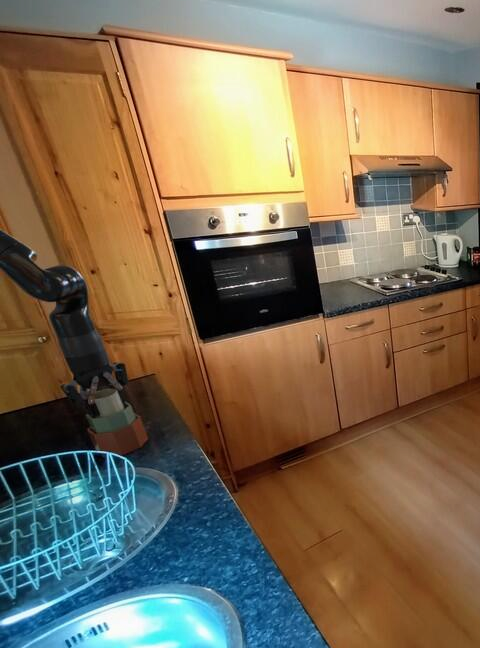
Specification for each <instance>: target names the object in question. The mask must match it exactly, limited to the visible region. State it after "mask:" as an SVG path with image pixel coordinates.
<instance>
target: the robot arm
mask: <svg viewBox="0 0 480 648" xmlns="http://www.w3.org/2000/svg"><path fill="white" fill-rule="evenodd" d="M37 259H38V254H37V253H36V251H35V250H34V249H33V248H31V247H30V246H28V245H27V244H25V243H24V242H22V241H21V240H19V239H17V238H16V237H14V236H13V235H11V234H9V233H8V232H6V231H4V230H3V229H2V228H0V270H1V271H2V272H3V273H4V274H5V275H6V276H7V277H8V278H9V280H11V281H12V282H13V283H15V284H16V285H17V287H18V288H20V290H22V291H23V292H24V293H25V294H27V295H28V296H30V297H32V298H33V299H36V300H38V301H40V302H44V303H55V306H54V309H53V310H52V311H51V312H50V313H49V315H48V319H49V322H50V325H51V327H52V330H53V332H54V334H55V337H56V339H57V343H58V346H59V349H60V351H61V354H62V355H63V358H64V360H65V362H66V365H67V367H68V369H69V371H70V373H71V374H72V376H73V377H72V380H71V381H70V382H68V383H65V384H64V383H62V384H61V385H60V389H61V391H62V392H63V393H64V395H65V397H67V399H68V401H69V402H70V403H71V405H74V406H80V407H84V409H85V411H86V414H89V415H91V416H95V417H97V416H99V415H100V412H99V410H98V408H97V405H96V403H94V395H95V394H96V392H97V391H98V389H99V388H100V387H101V386H104V385H107V386H108V387H109V388H111V389H116V390H117V391H118V393H119V396H120V398H121V401H122V403H125V402H126V396H125V393H124V390H123V388H124V387H125V386H128V385H129V383H130V382H129V377H128V371H127V366H126V364H125V363H123V362H113V363H112V364H111V363H110V362H111V361H110V358H109V355H108V353H107V350H106V347H105V345H104V343H103V340H102V338H101V335H100V334H99V332H98V331H97V329H96V326H95V323H94V321H93V319H92V316H91V313H90V310H89V309H90V306H89V303H90V301H89V293H88V287H87V283H86V281H85V278H84V277H83V275H82V273H80V272H79V271H78V270H77V269H75V268H74V267H72V266H69V265H65V264H64V265H63V264H60V265H59V264H58V265H54V266H51V267H48V268H42V267H41V266H39V265H38V264H37V263H36V261H37ZM113 373H114V377H113V376H112V375H113ZM78 386H79V388H78ZM78 390H79V391H78Z"/></svg>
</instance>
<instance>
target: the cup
mask: <svg viewBox="0 0 480 648" xmlns="http://www.w3.org/2000/svg"><path fill="white" fill-rule="evenodd" d="M94 403H96V405H97V408H98V410H99V412H100V415H99V416H97V417H96V418H103V417H109V416H112V415H114V414H117V413H120V412H122V411H124V410H125V408H124V406H123V403H122V401H121V398H120V396H119V393H118V391H117V390H116V389H104V390H100V389H99V390H97V391H96V394H95V395H94Z"/></svg>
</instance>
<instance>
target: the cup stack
mask: <svg viewBox="0 0 480 648" xmlns="http://www.w3.org/2000/svg"><path fill="white" fill-rule="evenodd" d="M123 406H124V408H125V410H124V411H122V412H120V413H117V414H114V415H112V416H109V417H103V418H96V417H95V416H91V415H89V414H88V413H86V415H85V417H86V420H87V422H88V423H89V425H90V427H89V428H87V429H86V431H87V433H88V435H89V437H90V440H91V442H92V444H93V446H94V449H95V451H96V450H102V451H110V452H114V453H117V454H120V455H122V456H124V455H126V454H129V453H132V452H133V451H135V450H138V449H140V448H142V447H143V446H144V445H145V443H146V442H147V441H148V440H149V436H148V434H147V431H146V428H145V426H144V423H143V420H142V418H141V416H140V415H138V414H136V413H135V412H134V409H133V407H132V404H130V403H128V402H127V401H125V403H123ZM100 456H101V457H102V458H107V457H106V456H104V455H100Z"/></svg>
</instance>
